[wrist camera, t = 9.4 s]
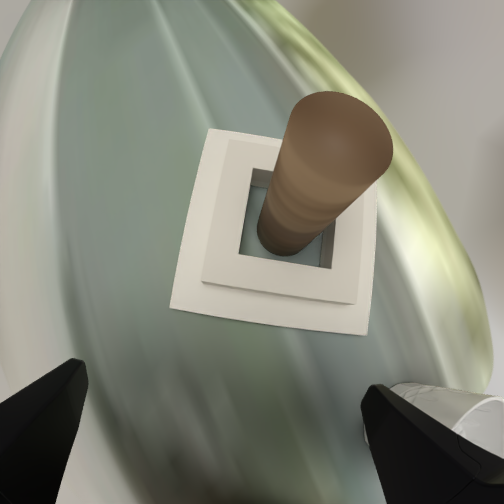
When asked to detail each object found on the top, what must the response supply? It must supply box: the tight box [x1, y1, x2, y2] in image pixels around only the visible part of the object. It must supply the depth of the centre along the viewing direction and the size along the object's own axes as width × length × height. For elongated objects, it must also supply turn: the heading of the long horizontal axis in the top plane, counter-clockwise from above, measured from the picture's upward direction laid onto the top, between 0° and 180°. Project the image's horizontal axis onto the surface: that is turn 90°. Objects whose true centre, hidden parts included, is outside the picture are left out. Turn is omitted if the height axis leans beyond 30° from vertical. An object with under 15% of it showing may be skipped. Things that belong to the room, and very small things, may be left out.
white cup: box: [364, 382, 504, 459], centre depth 15 cm, size 8×8×10 cm
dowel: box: [257, 91, 393, 256], centre depth 16 cm, size 4×4×13 cm
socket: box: [170, 129, 377, 336], centre depth 21 cm, size 14×14×3 cm
